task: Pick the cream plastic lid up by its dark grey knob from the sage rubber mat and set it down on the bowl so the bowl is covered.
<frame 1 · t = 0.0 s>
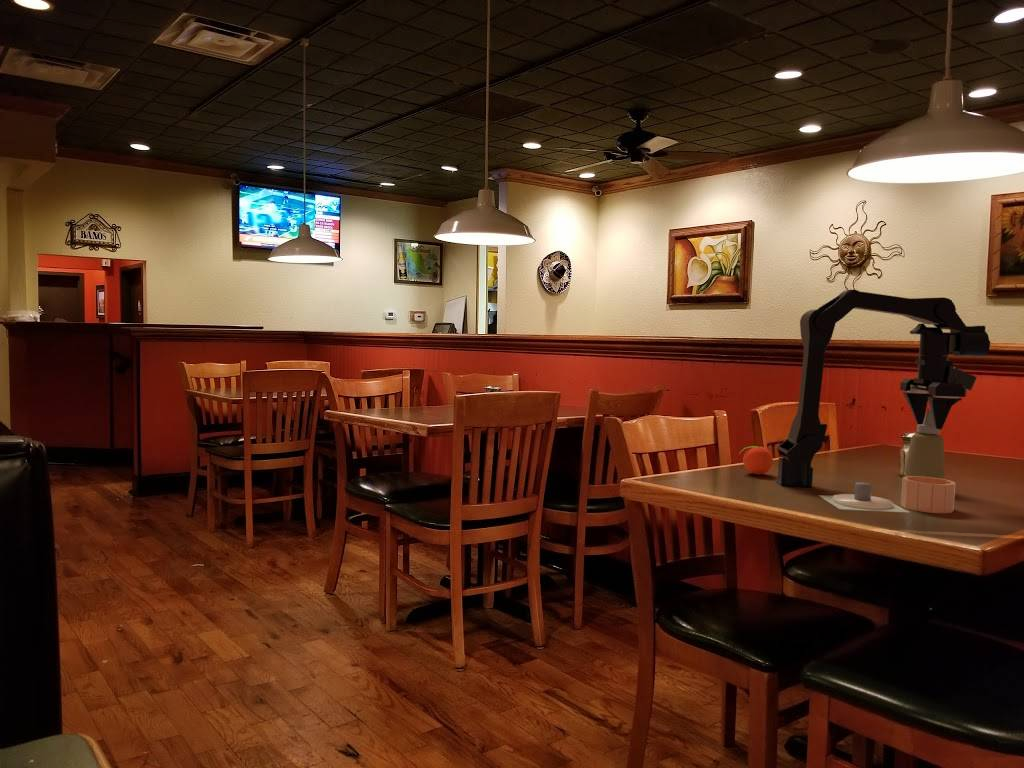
hand: (929, 426, 170), 15 cm above the table, tool pointing down, fingers open, 9 cm apart
squeeze bottle: (922, 489, 175), on the table, touching gripper
lid: (862, 503, 154), point 1 cm above the table, touching mat
bowl: (926, 510, 152), on the table
mat: (862, 506, 154), on the table
clementine: (754, 475, 188), on the table
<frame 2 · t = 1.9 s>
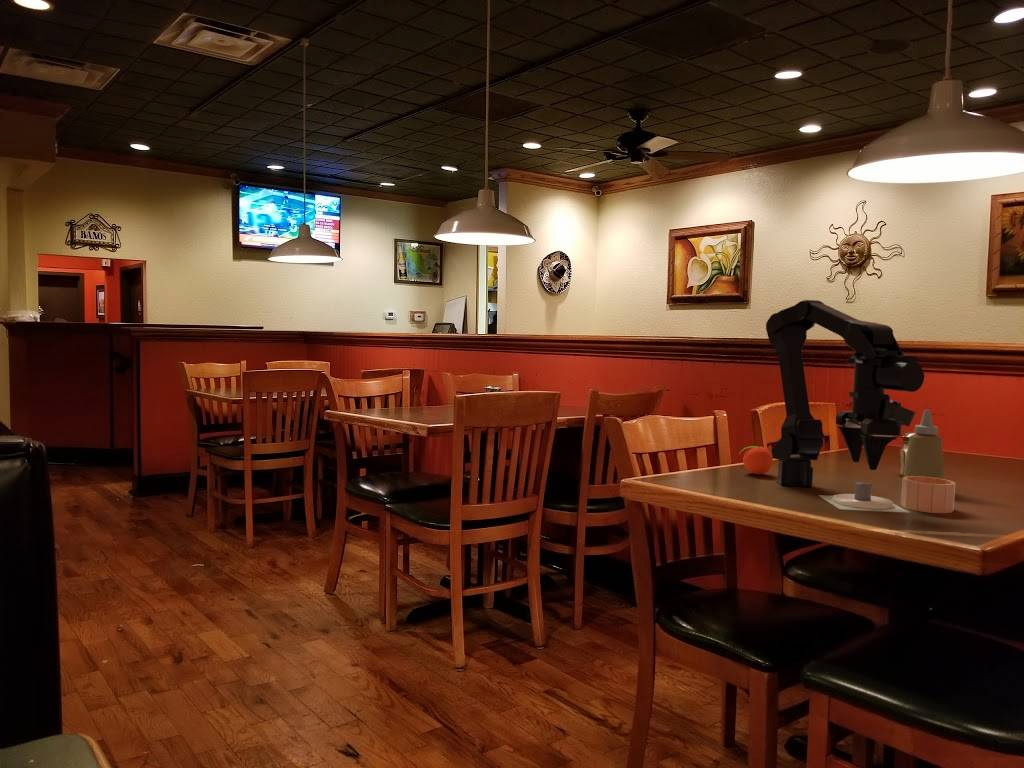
hand: (864, 465, 154), 8 cm above the table, tool pointing down, fingers open, 9 cm apart
squeeze bottle: (922, 489, 175), on the table
everything else where it was.
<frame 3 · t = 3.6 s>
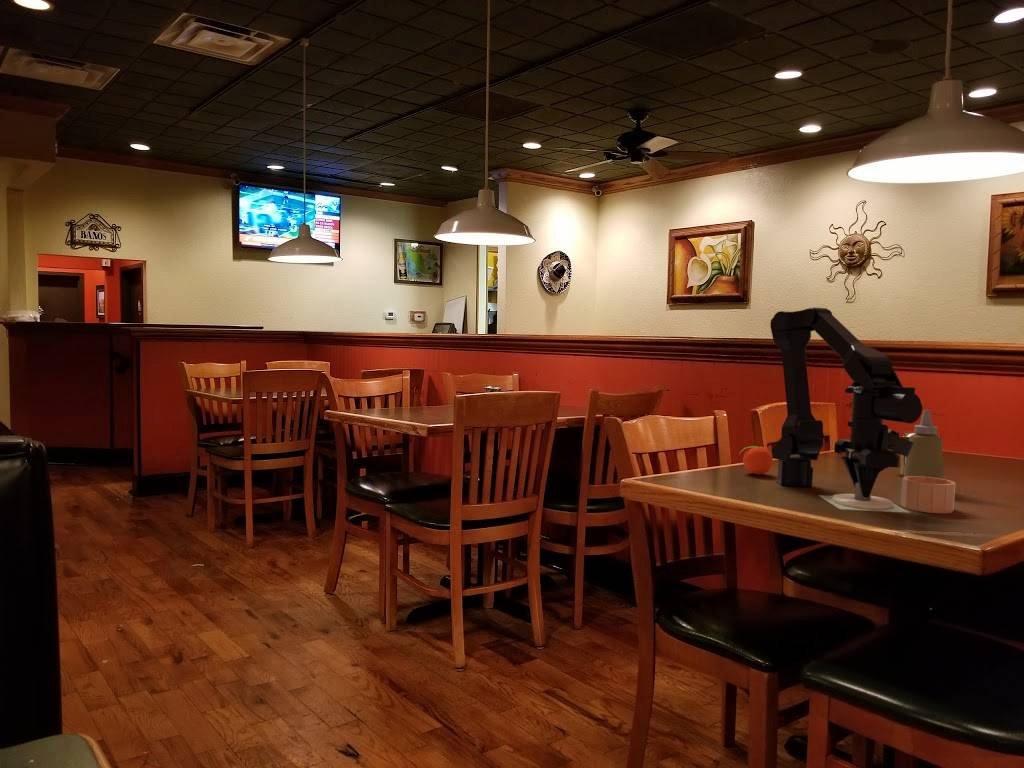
hand: (862, 495, 154), 2 cm above the table, tool pointing down, fingers closed on lid, 3 cm apart
lid: (862, 503, 154), point 1 cm above the table, touching gripper, mat
everything else where it was.
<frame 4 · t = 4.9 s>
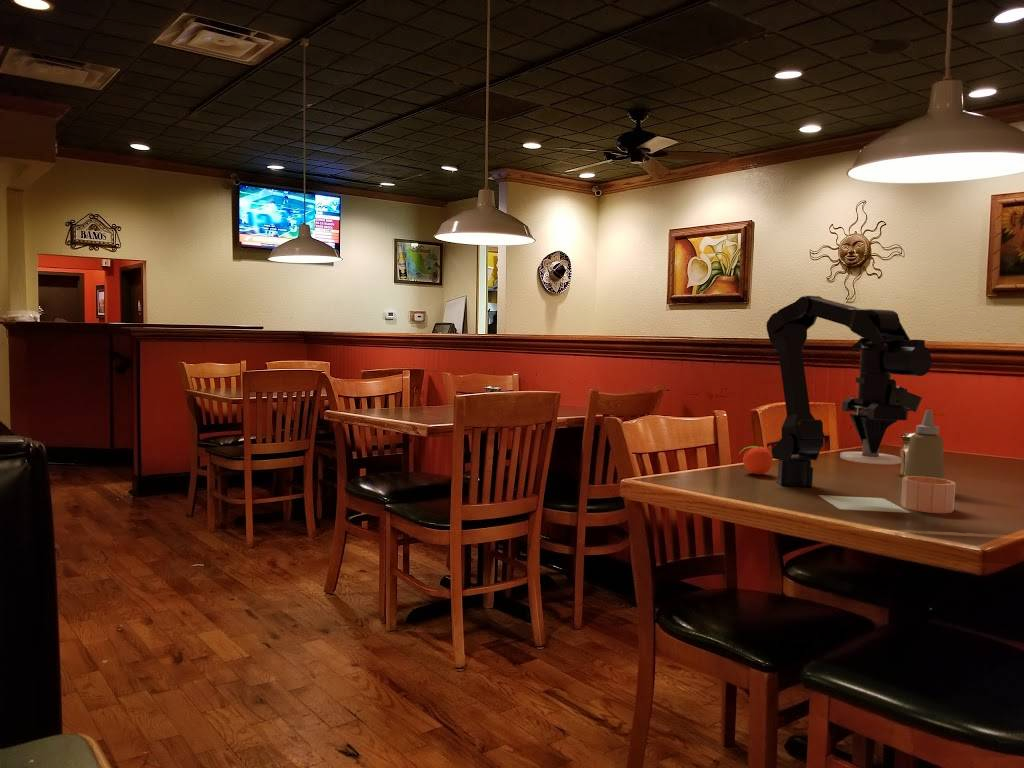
hand: (870, 451, 153), 11 cm above the table, tool pointing down, fingers closed on lid, 3 cm apart
lid: (870, 459, 153), point 9 cm above the table, touching gripper
everything else where it was.
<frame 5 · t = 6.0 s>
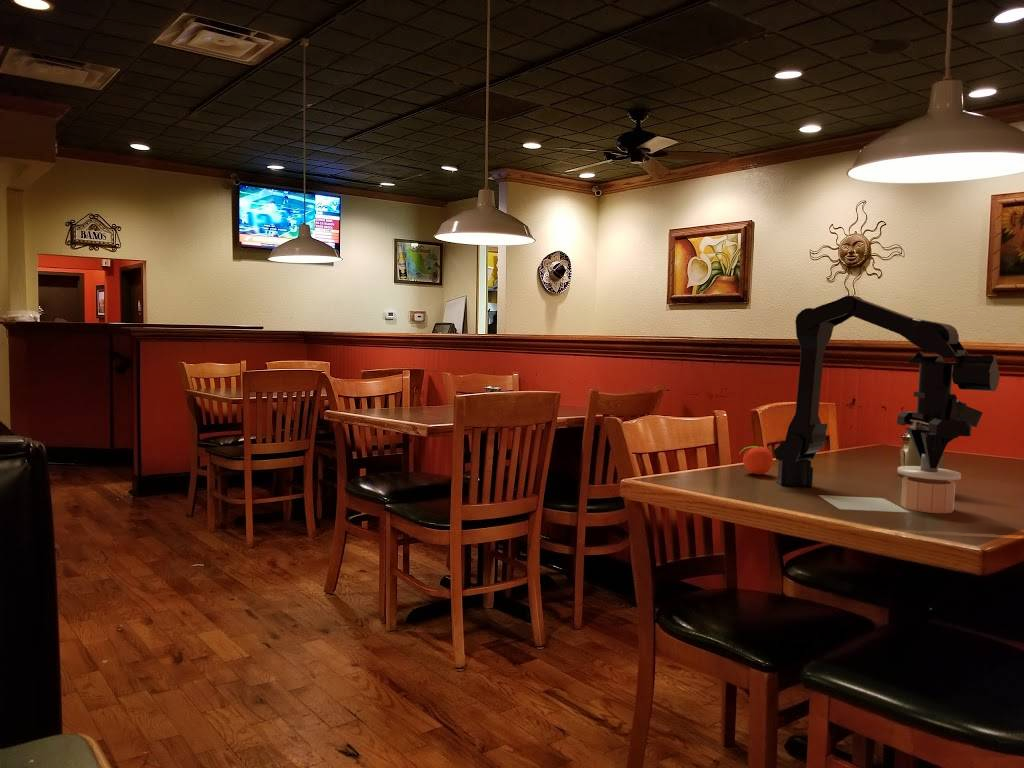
hand: (929, 466, 152), 9 cm above the table, tool pointing down, fingers closed on lid, 3 cm apart
lid: (928, 474, 152), point 7 cm above the table, touching gripper
everything else where it was.
when the fingers open (9 cm above the table, at t = 6.6 s): lid stays where it is, resting on bowl.
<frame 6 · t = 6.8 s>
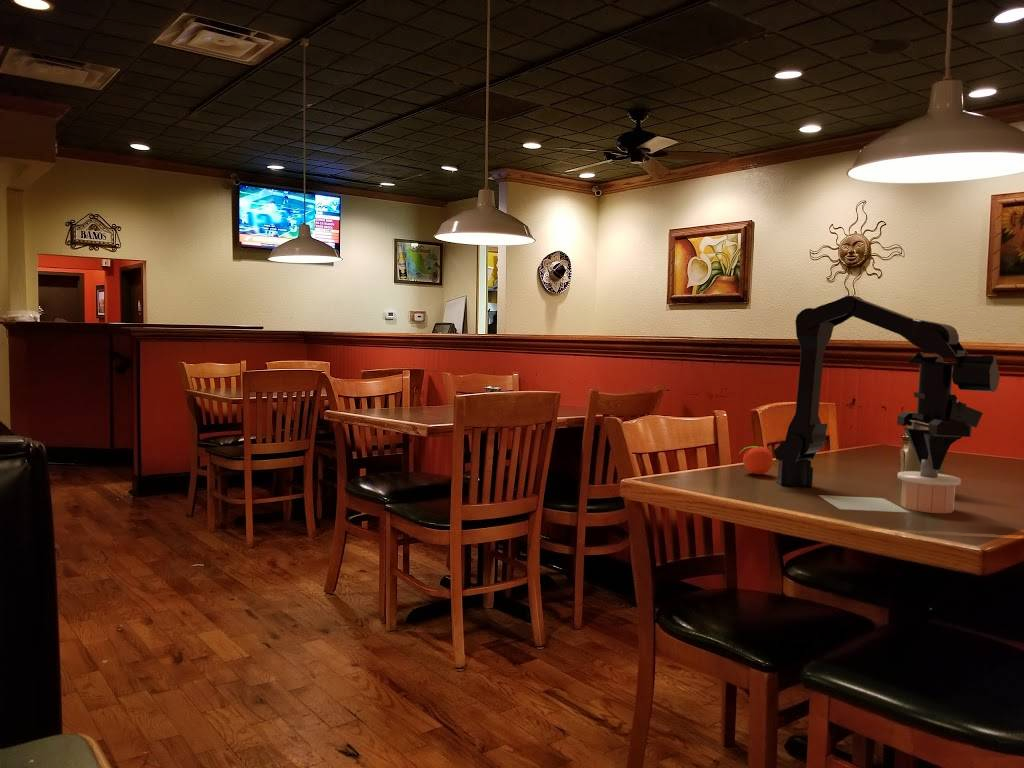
hand: (929, 467, 152), 9 cm above the table, tool pointing down, fingers open, 5 cm apart
lid: (928, 480, 152), point 6 cm above the table, touching bowl
everything else where it was.
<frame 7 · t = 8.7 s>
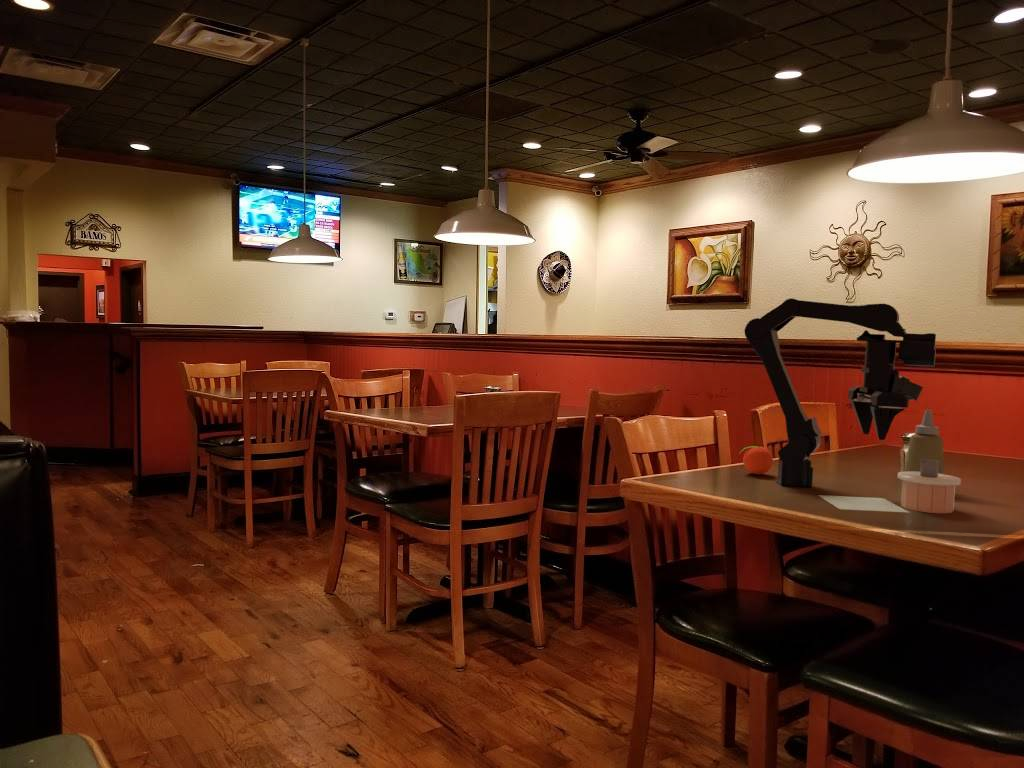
hand: (873, 436, 164), 13 cm above the table, tool pointing down, fingers open, 9 cm apart
nothing on the table moved.
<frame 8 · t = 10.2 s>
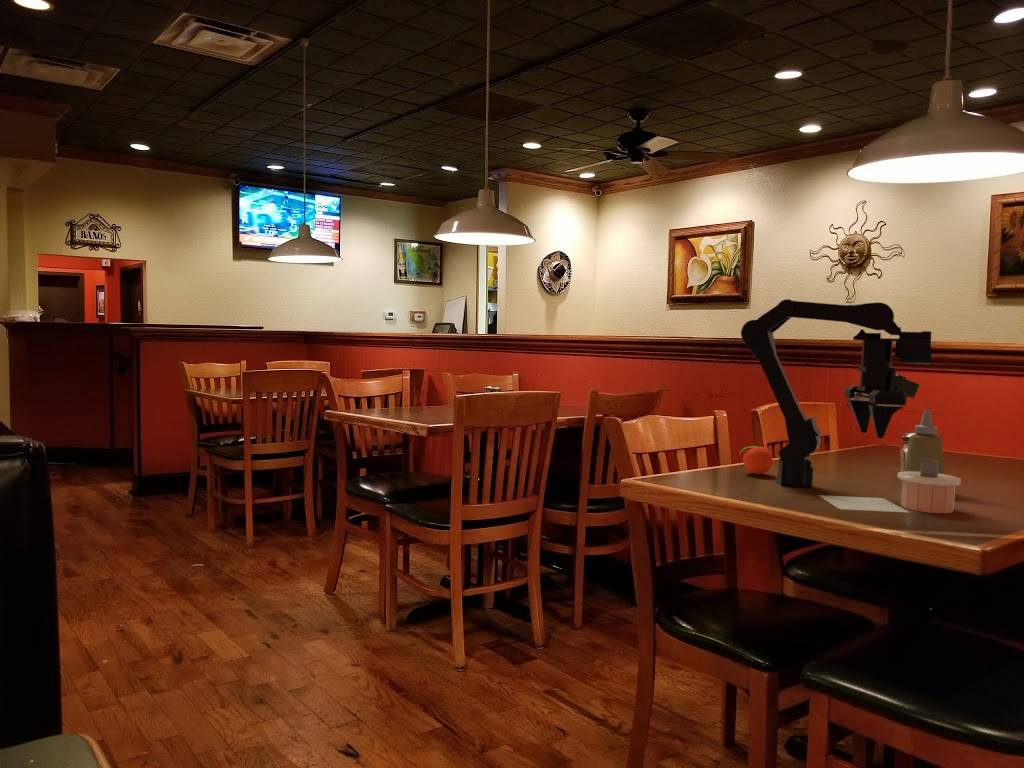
hand: (871, 435, 165), 13 cm above the table, tool pointing down, fingers open, 9 cm apart
nothing on the table moved.
at the end: lid 0.0 cm from the bowl (horizontally); lid point 6.0 cm above the table; lid tilted 0° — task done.
